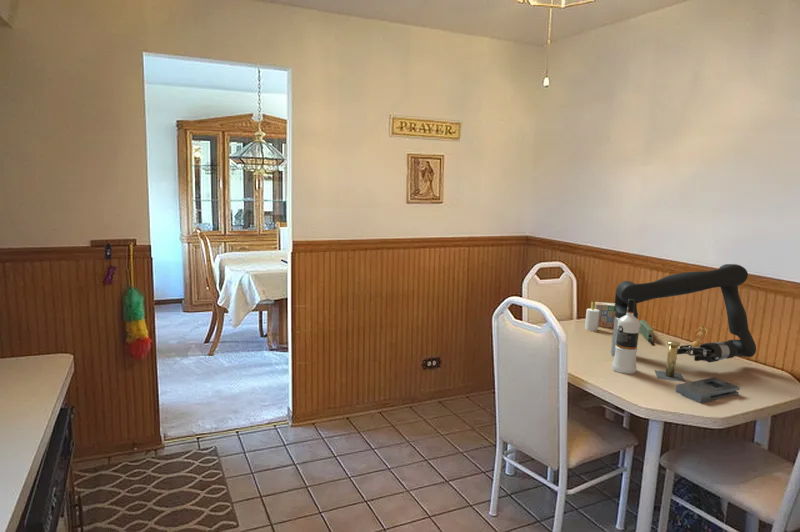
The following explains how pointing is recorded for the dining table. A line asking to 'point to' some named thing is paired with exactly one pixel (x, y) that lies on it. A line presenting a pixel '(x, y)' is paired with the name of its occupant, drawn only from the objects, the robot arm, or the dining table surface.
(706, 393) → the slotted grey base plate
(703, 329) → the figurine
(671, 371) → the brass pin
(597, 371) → the dining table surface
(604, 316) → the stack of blocks
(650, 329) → the handheld radio
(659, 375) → the rubber mat
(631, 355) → the vodka
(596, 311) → the candle
